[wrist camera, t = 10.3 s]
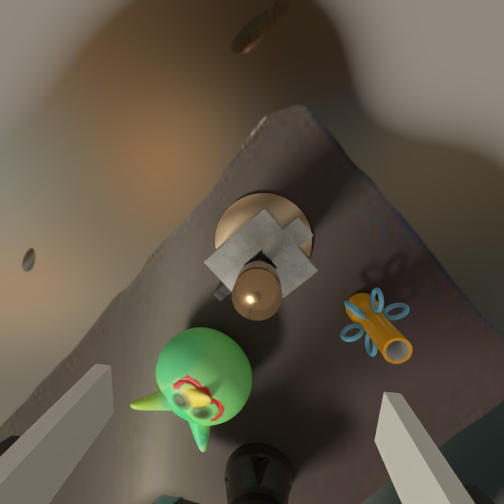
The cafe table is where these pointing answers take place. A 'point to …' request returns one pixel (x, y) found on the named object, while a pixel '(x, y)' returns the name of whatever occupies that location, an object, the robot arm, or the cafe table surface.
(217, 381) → the toy bird
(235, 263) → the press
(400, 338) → the cylinder
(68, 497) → the cafe table surface
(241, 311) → the plunger
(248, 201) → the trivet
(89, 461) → the cafe table surface
